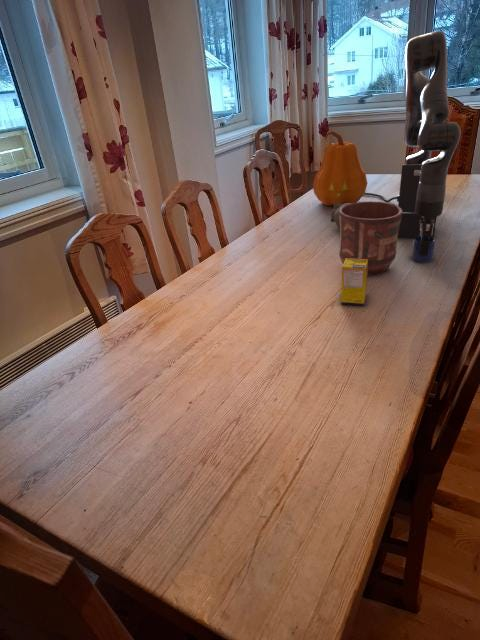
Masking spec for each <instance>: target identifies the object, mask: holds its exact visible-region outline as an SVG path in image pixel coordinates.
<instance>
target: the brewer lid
mask: <svg viewBox="0 0 480 640" xmlns="http://www.w3.org/2000/svg"><path fill="white" fill-rule="evenodd" d="M421 166H422V164H408V165H405V164H401V172H400V173H401V174H400V182H399V183H400V184H399V194H398V196H399V202H397V206H398V207H400V208H401V209H402V212H415V206H416V198H417V190H418V186H419V181H420V172H421Z"/></svg>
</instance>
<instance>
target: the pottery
mask: <svg viewBox="0 0 480 640" xmlns="http://www.w3.org/2000/svg"><path fill="white" fill-rule="evenodd" d="M402 213H403V212H402V209H401V208H400V207H398V205H396V204H393V203H390V202H385V201H357V202H355V203H352V204H349V205H346V206H343V207H342V208H341V209H340V210H339V219H340V229H339V245H338V246H339V250H338V251H339V253H338V254H339V260H340V261H341V263H342V265H343V264H344V261H345V258H350V259H368V269H367V276H374V275H375V276H376V275H379V274H381V273H384V272H385V271H387V269H390V267H391V265H392V263H393V262H394V260H395V259H396V255H397V247H398V238H397V237H398V232H399V226H400V222H401V218H402Z"/></svg>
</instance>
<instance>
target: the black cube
mask: <svg viewBox="0 0 480 640" xmlns="http://www.w3.org/2000/svg"><path fill="white" fill-rule="evenodd" d="M437 218H438V216H434V217H433V218H432V219H434V221H435V223H434V227H433V234H432V237H433V238H435V232H436V227H437V226H436V225H437ZM420 219H422V216H419V215H417V214H415V212H403V213H402V218H401V222H400V226H399V232H398V237H397V239H414V238H415V237H417V236H420V229H419V228H420Z"/></svg>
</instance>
